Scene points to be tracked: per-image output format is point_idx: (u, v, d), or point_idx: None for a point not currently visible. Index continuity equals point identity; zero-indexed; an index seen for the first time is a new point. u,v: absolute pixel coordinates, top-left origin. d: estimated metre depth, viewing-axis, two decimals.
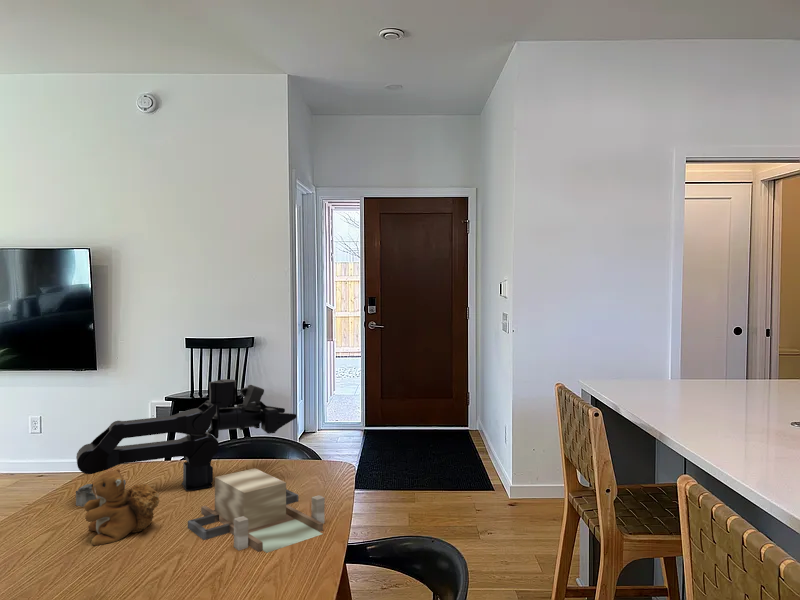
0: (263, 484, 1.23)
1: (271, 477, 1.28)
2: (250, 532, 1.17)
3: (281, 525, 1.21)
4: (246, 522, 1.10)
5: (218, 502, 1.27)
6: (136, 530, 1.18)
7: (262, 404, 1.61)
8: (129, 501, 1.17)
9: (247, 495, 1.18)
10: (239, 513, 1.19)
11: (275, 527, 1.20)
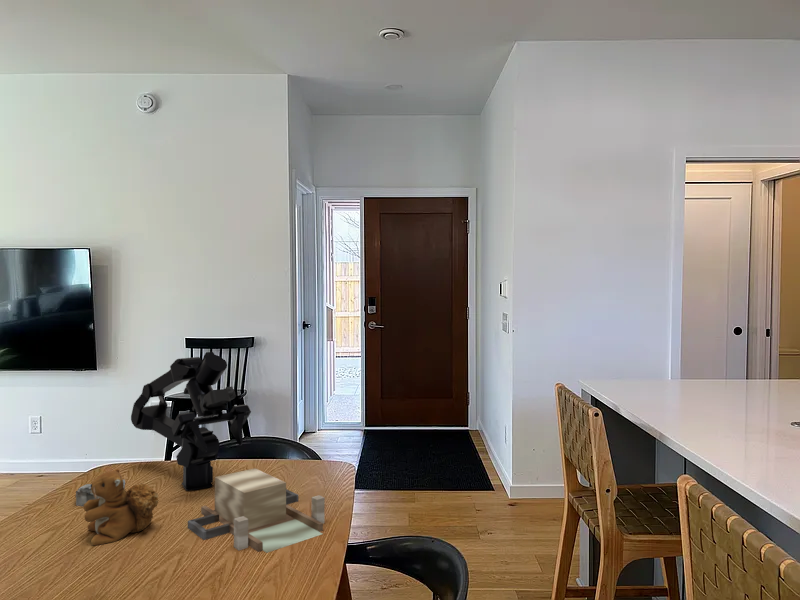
0: (263, 484, 1.23)
1: (271, 477, 1.28)
2: (250, 532, 1.17)
3: (281, 525, 1.21)
4: (246, 522, 1.10)
5: (218, 502, 1.27)
6: (135, 530, 1.18)
7: (236, 418, 1.43)
8: (128, 501, 1.17)
9: (247, 495, 1.18)
10: (239, 513, 1.19)
11: (275, 527, 1.20)
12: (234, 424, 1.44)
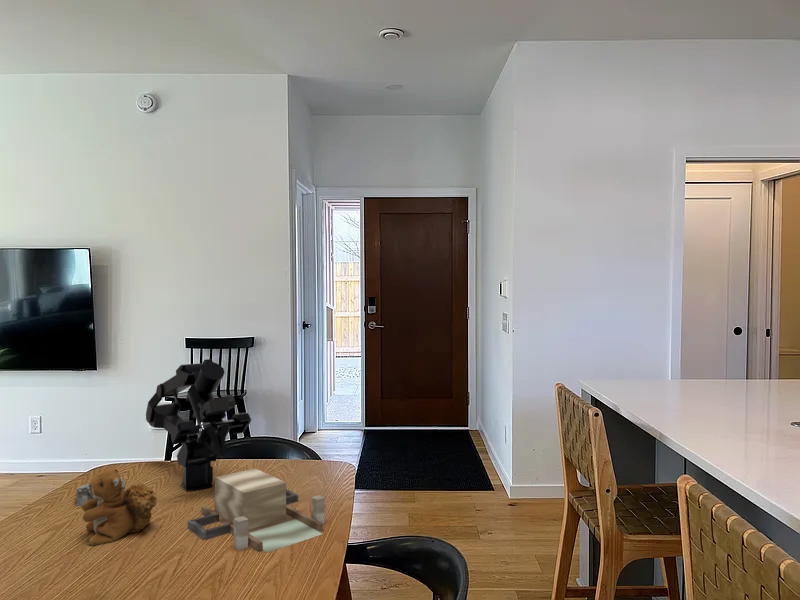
0: (263, 484, 1.23)
1: (271, 477, 1.28)
2: (250, 532, 1.17)
3: (281, 525, 1.21)
4: (246, 522, 1.10)
5: (218, 502, 1.27)
6: (134, 530, 1.18)
7: (219, 429, 1.39)
8: (127, 501, 1.17)
9: (247, 495, 1.18)
10: (239, 513, 1.19)
11: (275, 527, 1.20)
12: (217, 435, 1.40)
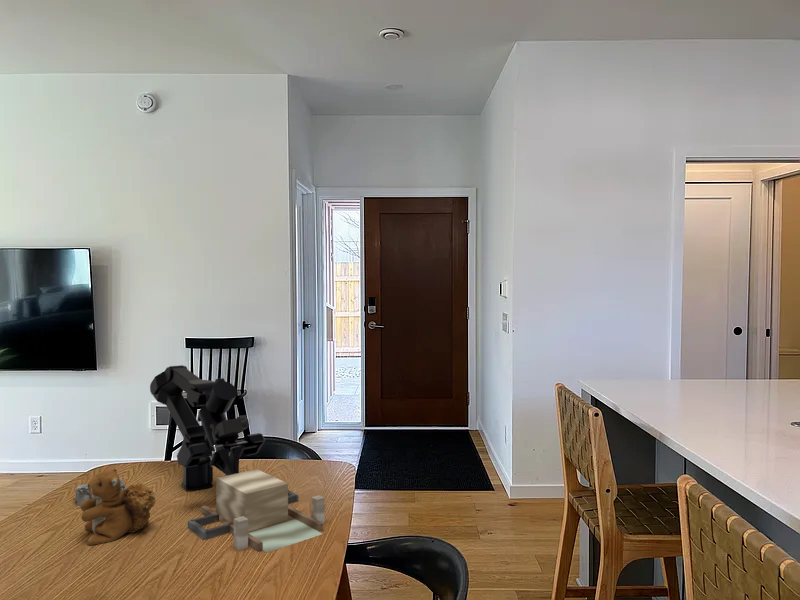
0: (264, 485, 1.22)
1: (273, 478, 1.27)
2: (250, 532, 1.17)
3: (281, 525, 1.21)
4: (246, 522, 1.10)
5: (219, 503, 1.26)
6: (132, 530, 1.18)
7: (233, 451, 1.34)
8: (125, 501, 1.17)
9: (249, 496, 1.18)
10: (241, 514, 1.19)
11: (275, 527, 1.20)
12: (230, 457, 1.34)
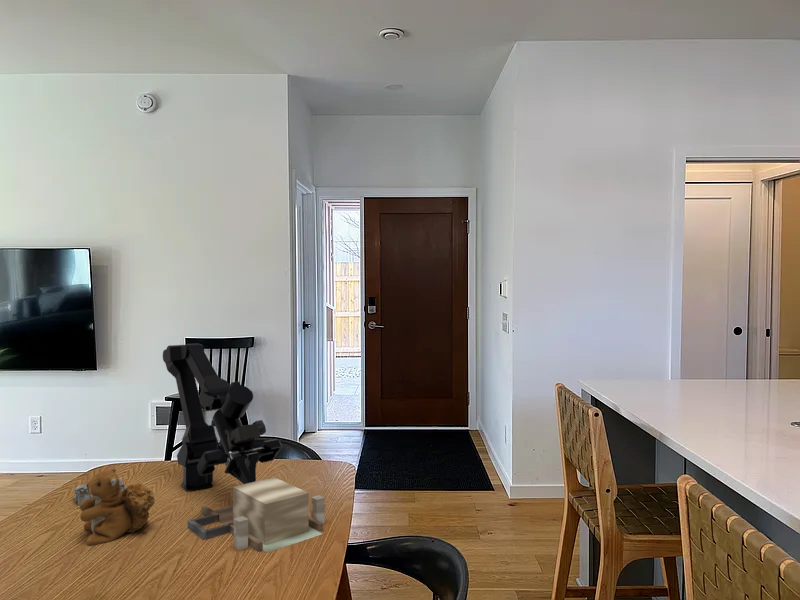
0: (284, 495, 1.17)
1: (292, 487, 1.21)
2: None
3: None
4: (246, 522, 1.10)
5: (236, 513, 1.20)
6: (131, 530, 1.18)
7: (249, 458, 1.28)
8: (124, 501, 1.17)
9: (269, 507, 1.12)
10: (260, 525, 1.13)
11: None
12: (247, 465, 1.29)
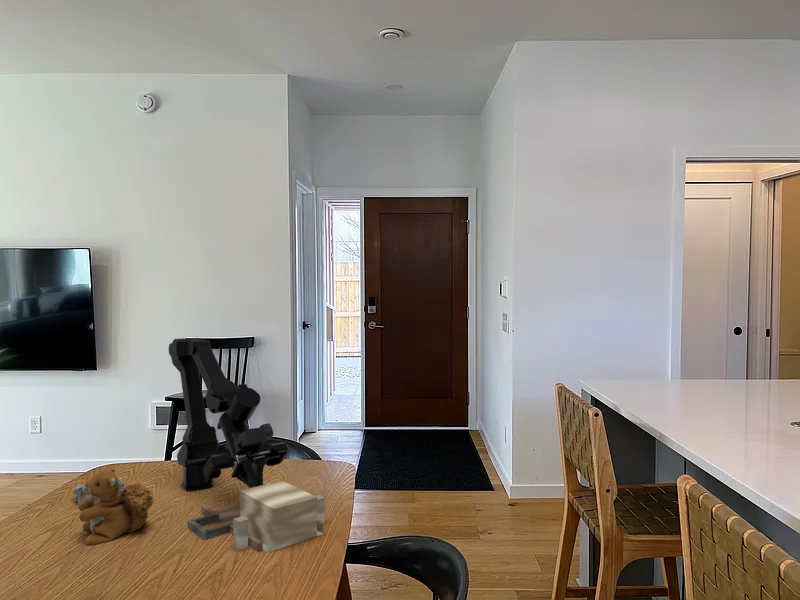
0: (293, 499, 1.14)
1: (300, 491, 1.19)
2: None
3: None
4: (246, 522, 1.10)
5: None
6: (130, 530, 1.18)
7: (256, 462, 1.25)
8: (123, 501, 1.17)
9: (277, 511, 1.09)
10: (268, 531, 1.10)
11: None
12: (254, 469, 1.26)
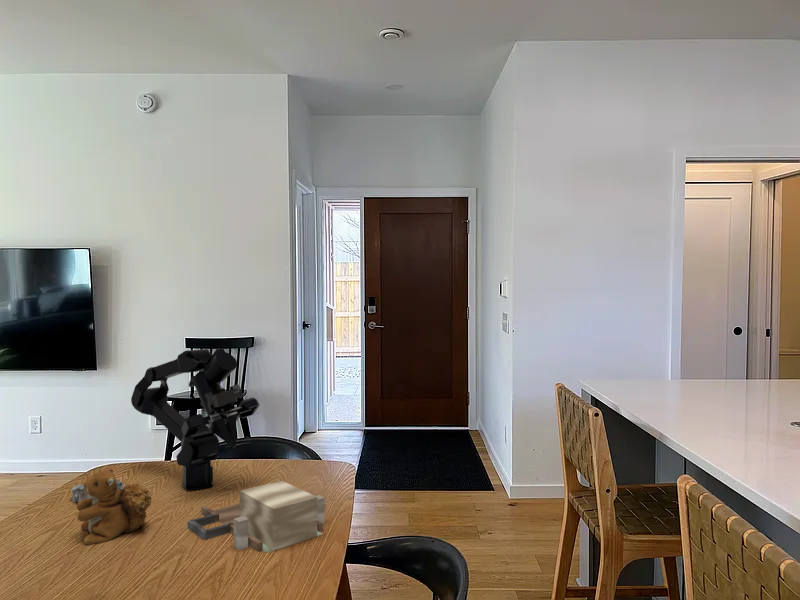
0: (293, 499, 1.14)
1: (300, 491, 1.19)
2: None
3: None
4: (246, 522, 1.10)
5: None
6: (129, 529, 1.18)
7: (229, 419, 1.40)
8: (121, 501, 1.17)
9: (277, 511, 1.09)
10: (268, 531, 1.10)
11: None
12: (227, 424, 1.41)
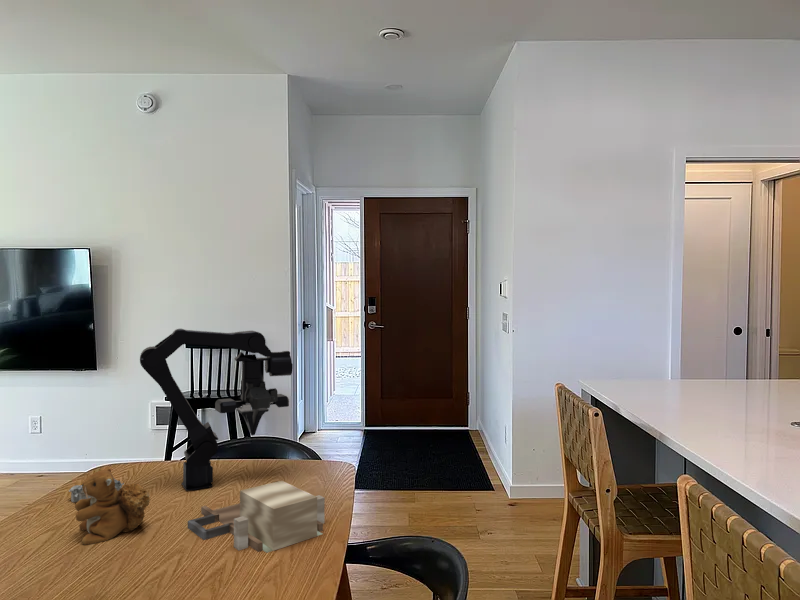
0: (293, 499, 1.14)
1: (300, 491, 1.19)
2: None
3: None
4: (246, 522, 1.10)
5: None
6: (127, 529, 1.18)
7: (257, 412, 1.52)
8: (120, 500, 1.17)
9: (277, 511, 1.09)
10: (268, 531, 1.10)
11: None
12: (255, 412, 1.53)
